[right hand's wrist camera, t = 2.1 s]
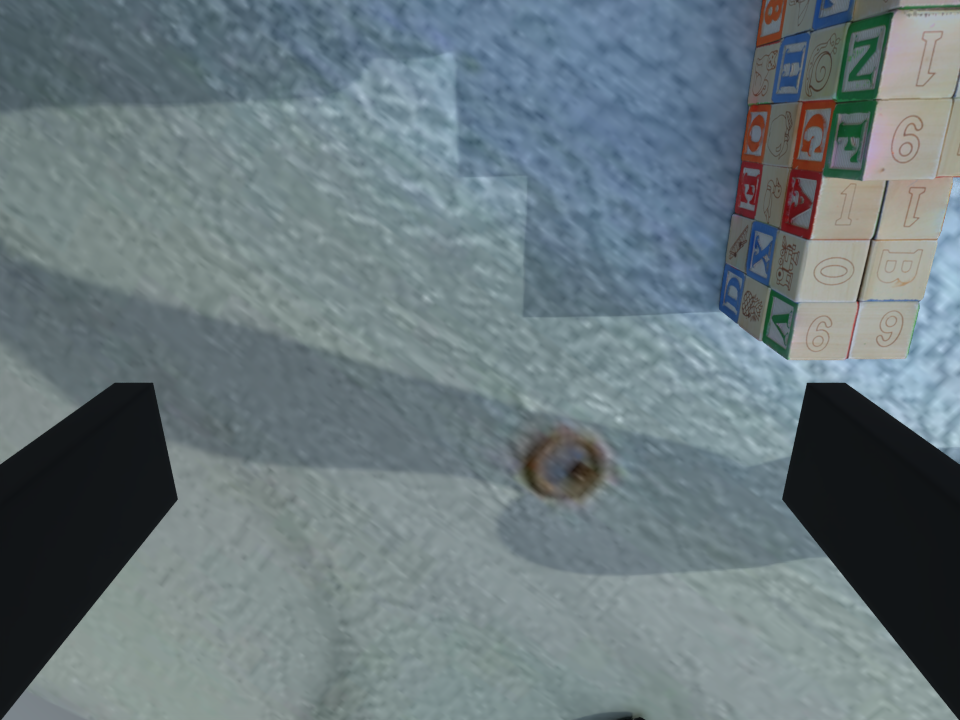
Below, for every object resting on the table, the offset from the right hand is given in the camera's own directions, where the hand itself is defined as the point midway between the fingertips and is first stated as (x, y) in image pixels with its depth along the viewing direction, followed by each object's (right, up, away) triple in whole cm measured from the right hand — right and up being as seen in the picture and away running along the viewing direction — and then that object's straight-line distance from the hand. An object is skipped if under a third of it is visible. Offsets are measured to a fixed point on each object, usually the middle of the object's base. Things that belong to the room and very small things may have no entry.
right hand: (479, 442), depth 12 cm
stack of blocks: (+18, +15, +23) cm, 33 cm away
